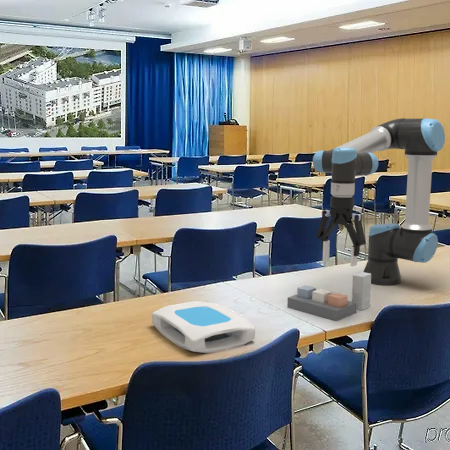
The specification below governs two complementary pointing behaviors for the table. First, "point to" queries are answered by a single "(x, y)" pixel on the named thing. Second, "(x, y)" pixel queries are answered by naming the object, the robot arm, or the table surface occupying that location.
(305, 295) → the slate key
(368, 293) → the skincare box
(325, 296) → the white key
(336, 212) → the robot arm
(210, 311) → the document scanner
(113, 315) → the table surface
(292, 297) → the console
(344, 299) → the terracotta key
